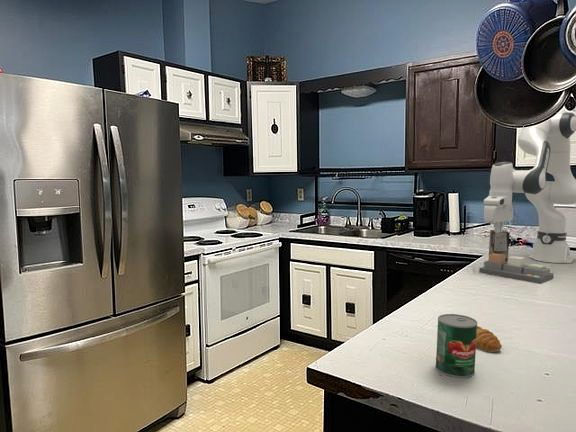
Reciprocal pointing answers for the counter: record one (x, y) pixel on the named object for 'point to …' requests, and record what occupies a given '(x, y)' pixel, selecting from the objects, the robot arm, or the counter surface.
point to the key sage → (537, 266)
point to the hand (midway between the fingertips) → (498, 232)
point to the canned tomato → (456, 345)
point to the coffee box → (499, 243)
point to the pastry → (487, 340)
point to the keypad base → (516, 272)
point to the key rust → (497, 258)
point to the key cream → (516, 261)
